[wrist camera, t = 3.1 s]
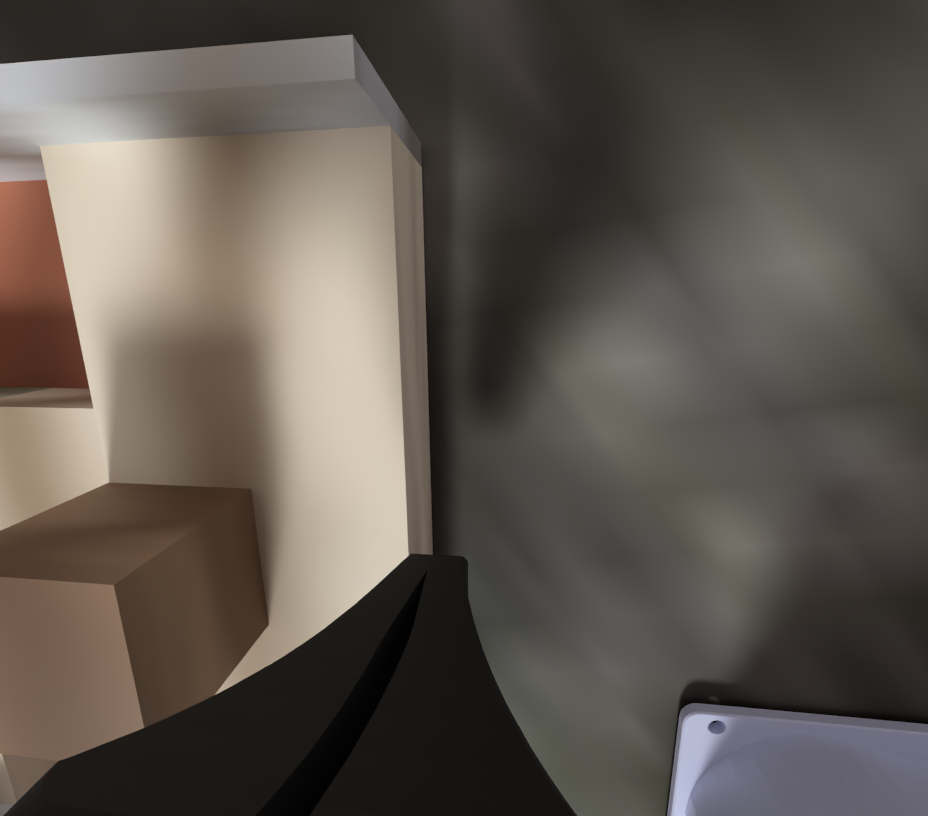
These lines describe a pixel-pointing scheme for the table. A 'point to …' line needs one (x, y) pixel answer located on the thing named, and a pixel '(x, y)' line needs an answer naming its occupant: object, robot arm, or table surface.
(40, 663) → the walnut block
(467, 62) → the table surface
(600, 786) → the table surface
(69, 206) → the board
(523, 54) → the table surface
